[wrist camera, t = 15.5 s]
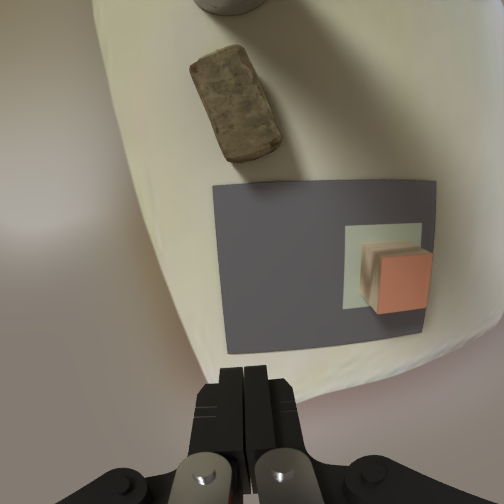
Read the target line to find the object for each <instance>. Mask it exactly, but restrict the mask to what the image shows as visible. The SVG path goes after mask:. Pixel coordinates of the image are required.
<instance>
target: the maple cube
mask: <svg viewBox="0 0 504 504" xmlns="http://www.w3.org/2000/svg"><path fill="white" fill-rule="evenodd" d="M432 259H433V254H432V253H430V252H428V251H427V250H425V249H423V248H421V247H419V246H417V245H415V244H414V243H412V242H410V241H408V240H403V241H385V242H367V243H362V248H361V271H360V288H359V293H360V294H361V295H362V296H363V297H364V299H365V300H366V301H367V302H368V303H369V305H370V306H371V307H372V308H373V309H374V311H375V312H376V313H377V314H385V313H392V312H400V311H407V310H414V309H420V308H426V306H427V299H428V292H429V285H430V277H431V269H432Z"/></svg>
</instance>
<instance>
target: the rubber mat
mask: <svg viewBox="0 0 504 504" xmlns="http://www.w3.org/2000/svg"><path fill="white" fill-rule="evenodd" d="M212 187H213V200H214V214H215V226H216V238H217V250H218V261H219V273H220V283H221V294H222V304H223V314H224V323H225V333H226V342H227V351H228V354H235V353H254V352H269V351H282V350H294V349H305V348H315V347H324V346H333V345H341V344H349V343H357V342H364V341H371V340H378V339H385V338H391V337H397V336H403V335H409V334H414V333H420V332H422V328H423V323H424V317H425V311H426V308H420V309H414V310H407V311H400V312H392V313H385V314H377V313H376V312H375V311H374V309H373V308H372V307H371V306H370V305H369V303H368V302H367V301H366V300H365V299H364V297H363V296H362V295H361V294H360V293H359V288H360V271H361V248H362V243H367V242H385V241H403V240H408V241H410V242H412V243H414V244H415V245H417V246H419V247H421V248H423V249H425V250H427V251H428V252H430V253H432V254H433V246H434V232H435V214H436V181H414V180H320V181H288V182H266V183H248V184H232V185H218V186H212Z"/></svg>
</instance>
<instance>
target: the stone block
mask: <svg viewBox="0 0 504 504" xmlns="http://www.w3.org/2000/svg"><path fill="white" fill-rule="evenodd" d="M189 71H190V74H191V77H192V79H193V82H194V84H195V86H196V89H197V91H198V94H199V96H200V98H201V100H202V103H203V105H204V107H205V110H206V112H207V114H208V117H209V119H210V121H211V124H212V127H213V130H214V133H215V136H216V138H217V141H218V143H219V146H220V148H221V150H222V153H223V155H224V157H225V158H226V160H227V161H228V162H233V163H243V162H245V161H250V160H255V159H258V158H260V157H262V156H264V155H266V154H268V153H271V152H273V151H274V150H276V149H277V147H279V146H280V144H281V142H282V138H283V137H282V135H281V133H280V131H279V129H278V127H277V124H276V122H275V119H274V116H273V113H272V111H271V108H270V106H269V104H268V102H267V99H266V96H265V94H264V91H263V89H262V86H261V84H260V82H259V79H258V77H257V75H256V72H255V70H254V68H253V66H252V64H251V62H250V60H249V58H248V55H247V53H246V51H245V49H244V48H243V47H242V46H240V45H236V44H234V45H230V46H227V47H225V48H222V49H218V50H216V51H214V52H212V53H210V54H208V55H205V56H203V57H201V58H199V59H198V61H197V62H195V63H193V64H192V65H190V68H189Z"/></svg>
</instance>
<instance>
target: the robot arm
mask: <svg viewBox="0 0 504 504" xmlns="http://www.w3.org/2000/svg"><path fill="white" fill-rule="evenodd" d="M264 1H265V0H194V2H195V3H196V4H197V5H198V6H199V7H201V8H202V9H204V10H206V11H208V12H211V13H214V14H219V15H237V14H242V13H246V12H249V11H251V10H253V9H255V8H257V7H258V6H260V5H261V4H262V3H263V2H264ZM250 478H251V481H250ZM251 483H252V489H253V493H254V494H257V493H258V495H259V502H260V504H497V503H494V502H491V501H488V500H485V499H483V498H480V497H477V496H474V495H472V494H469V493H466V492H464V491H461V490H459V489H456V488H454V487H451V486H449V485H446V484H444V483H442V482H439V481H437V480H434V479H432V478H430V477H427V476H425V475H423V474H421V473H419V472H417V471H414V470H412V469H410V468H408V467H406V466H404V465H401V464H399V463H397V462H395V461H393V460H391V459H389V458H387V457H384V456H379V455H369V456H364V457H361V458H359V459H357V460H356V461H354V462H353V463H351V464H350V466H340V465H329V464H324V463H321V462H319V461H316V460H315V459H313V458H312V457H311V456H310V455H309V454H308V453H307V451H306V449H305V446H304V442H303V436H302V432H301V427H300V422H299V417H298V412H297V408H296V403H295V398H294V393H293V388H292V387H291V386H290V385H289V384H288V382H287V381H286V380H285V379H284V378H282V379H272V380H268V376H267V367H266V365H259V366H247V367H244V373H243V367H234V368H220V375H219V383H217V384H205V385H204V387H203V388H202V389H201V390H200V392H199V393H198V394H197V400H196V408H195V413H194V419H193V425H192V432H191V438H190V445H189V452H188V456H187V458H185V459H184V460H183V461H182V462H181V463H180V464H179V466H178V468H177V469H176V470H174V471H172V472H170V473H166V474H162V475H157V476H152V477H147V478H144V477H143V476H142V475H141V474H140V473H139V472H137V471H135V470H133V469H129V468H116V469H113V470H110V471H108V472H106V473H105V474H103V475H102V476H100V477H98V478H97V479H95V480H94V481H92V482H91V483H89V484H87V485H86V486H84V487H83V488H81V489H79V490H78V491H76V492H75V493H73V494H71V495H69V496H68V497H66V498H65V499H63V500H61V501H59V502H58V503H56V504H243V494H251Z"/></svg>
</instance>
